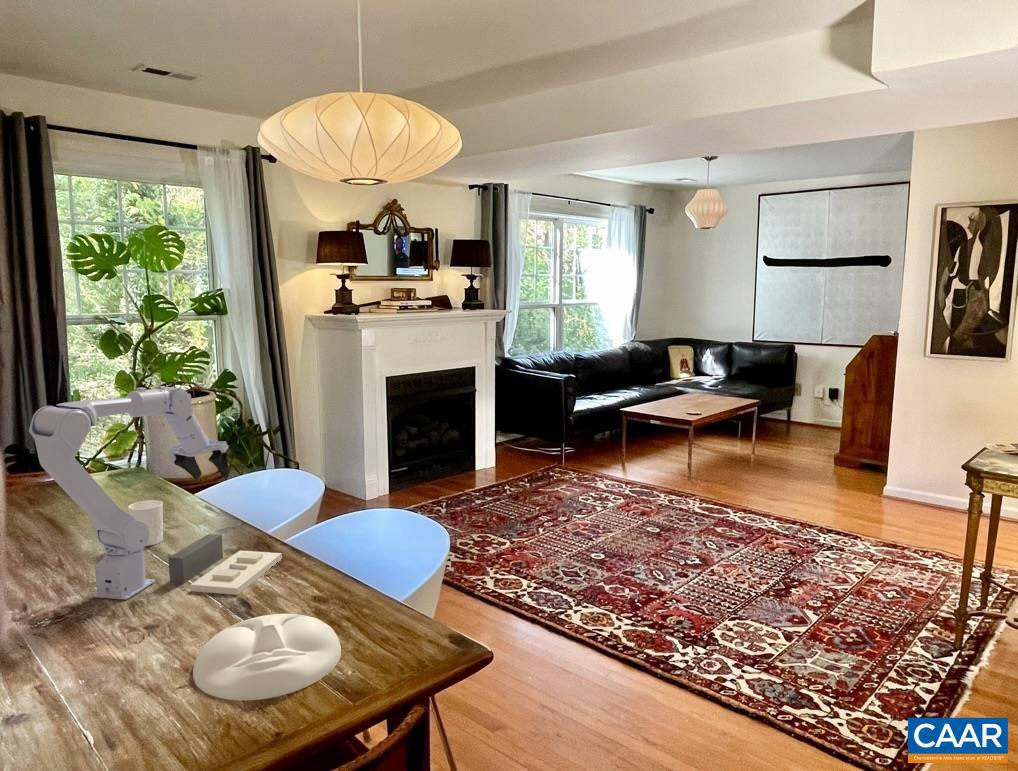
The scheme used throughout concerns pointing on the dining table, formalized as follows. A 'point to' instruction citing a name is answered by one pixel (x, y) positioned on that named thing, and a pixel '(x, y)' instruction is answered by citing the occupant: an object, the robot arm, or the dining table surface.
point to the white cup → (149, 518)
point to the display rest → (236, 572)
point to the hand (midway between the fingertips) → (212, 475)
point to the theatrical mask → (266, 657)
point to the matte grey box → (195, 558)
